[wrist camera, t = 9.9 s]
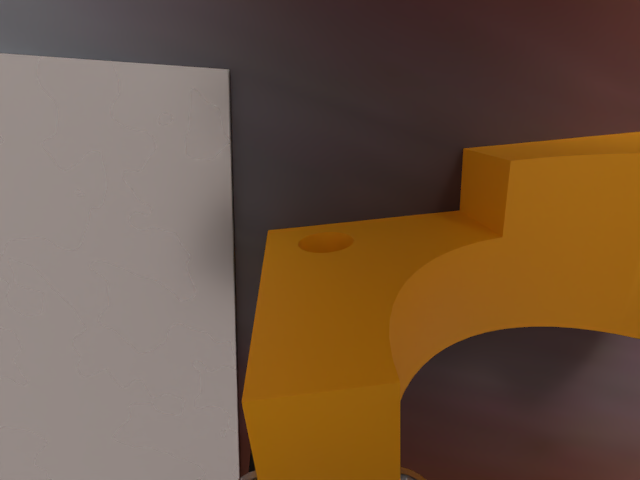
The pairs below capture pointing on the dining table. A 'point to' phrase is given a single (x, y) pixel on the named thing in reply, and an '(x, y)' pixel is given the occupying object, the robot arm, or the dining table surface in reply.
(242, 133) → the dining table surface
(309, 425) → the pipe clamp
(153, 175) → the door panel
